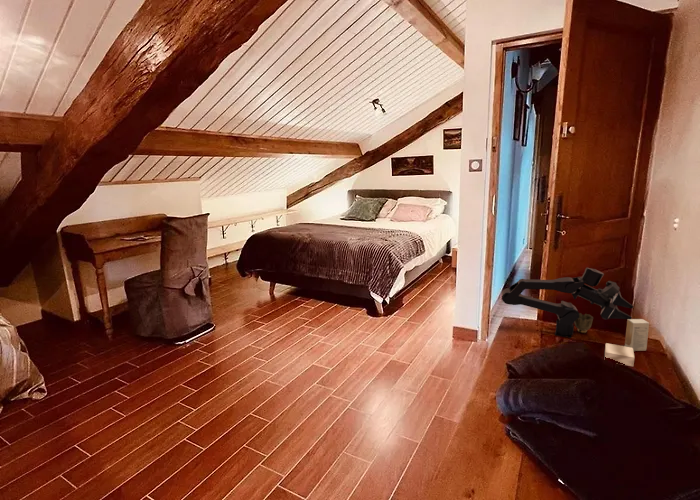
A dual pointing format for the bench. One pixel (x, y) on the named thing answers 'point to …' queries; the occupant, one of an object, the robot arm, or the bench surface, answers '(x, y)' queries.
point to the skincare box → (637, 334)
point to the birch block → (620, 354)
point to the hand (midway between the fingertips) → (632, 312)
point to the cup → (583, 323)
